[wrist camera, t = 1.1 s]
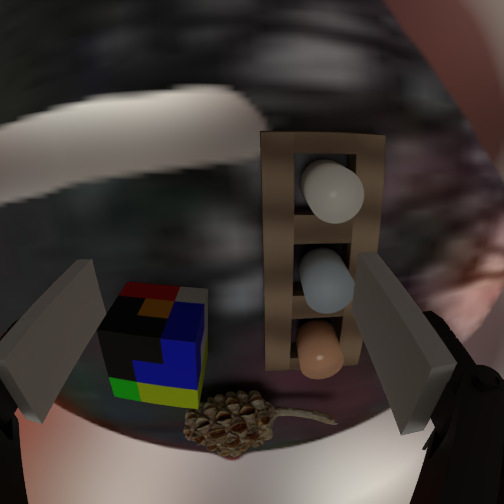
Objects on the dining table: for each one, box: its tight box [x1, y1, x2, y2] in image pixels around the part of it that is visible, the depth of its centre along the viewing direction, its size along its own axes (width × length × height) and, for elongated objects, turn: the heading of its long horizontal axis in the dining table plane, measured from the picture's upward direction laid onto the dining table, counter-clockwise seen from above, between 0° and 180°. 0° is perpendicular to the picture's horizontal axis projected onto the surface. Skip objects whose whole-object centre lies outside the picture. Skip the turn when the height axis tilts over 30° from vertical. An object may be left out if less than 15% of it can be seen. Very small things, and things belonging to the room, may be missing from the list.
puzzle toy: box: [97, 282, 208, 409], centre depth 35 cm, size 10×10×10 cm
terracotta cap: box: [295, 320, 344, 379], centre depth 35 cm, size 5×5×5 cm
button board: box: [260, 131, 386, 371], centre depth 35 cm, size 28×12×3 cm, turn 2°
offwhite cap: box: [300, 159, 364, 224], centre depth 28 cm, size 5×5×5 cm
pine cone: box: [183, 390, 337, 457], centre depth 41 cm, size 22×10×10 cm, turn 97°
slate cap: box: [298, 247, 355, 314], centre depth 32 cm, size 5×5×5 cm
